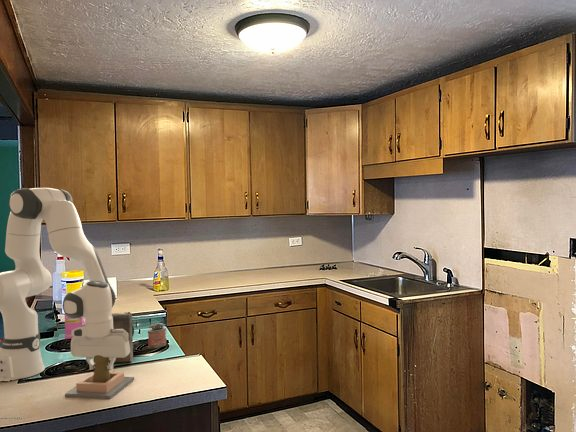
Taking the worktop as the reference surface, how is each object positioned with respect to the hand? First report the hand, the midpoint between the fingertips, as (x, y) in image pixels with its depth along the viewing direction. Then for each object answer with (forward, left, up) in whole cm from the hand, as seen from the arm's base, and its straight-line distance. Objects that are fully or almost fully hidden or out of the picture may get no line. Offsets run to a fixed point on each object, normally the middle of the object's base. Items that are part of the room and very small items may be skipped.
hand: (101, 369), depth 159 cm
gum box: (-51, +63, -7) cm, 81 cm away
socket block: (-1, 0, -7) cm, 7 cm away
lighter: (-1, +45, -7) cm, 45 cm away
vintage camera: (-9, +30, -7) cm, 32 cm away
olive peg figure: (0, 0, -6) cm, 6 cm away
